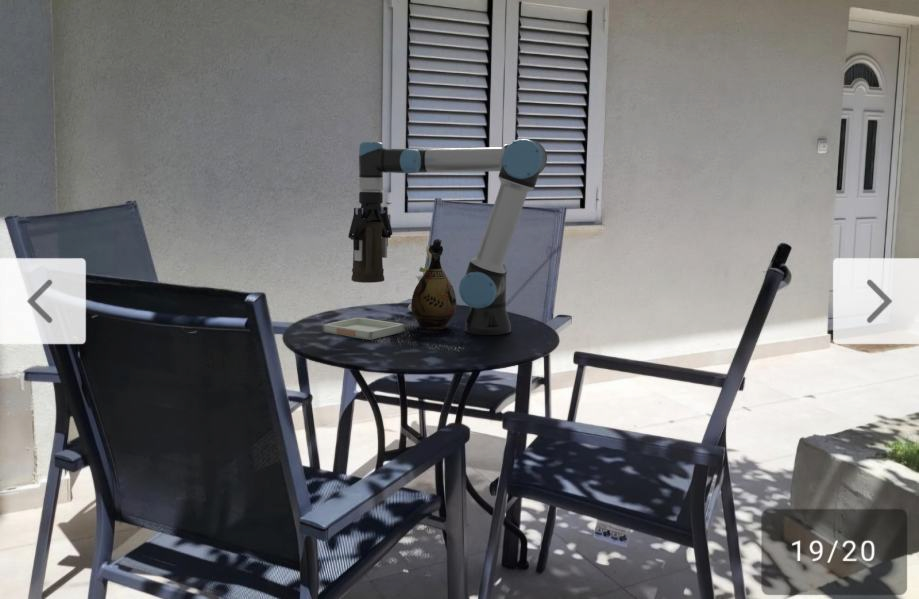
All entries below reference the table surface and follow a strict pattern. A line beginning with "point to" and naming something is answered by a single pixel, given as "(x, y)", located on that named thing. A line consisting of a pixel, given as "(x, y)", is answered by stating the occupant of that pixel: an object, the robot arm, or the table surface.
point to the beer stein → (370, 255)
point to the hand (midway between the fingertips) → (370, 259)
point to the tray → (364, 328)
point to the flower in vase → (423, 270)
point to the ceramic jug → (434, 294)
